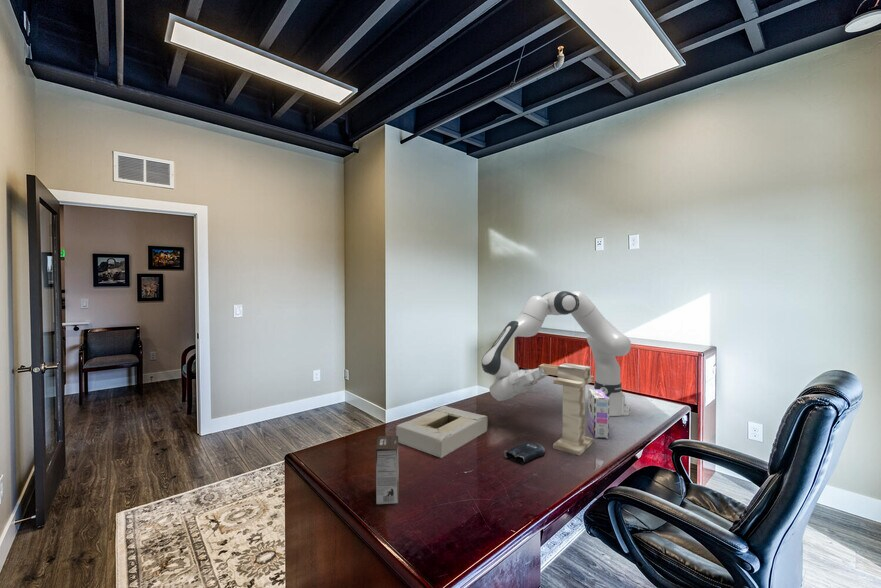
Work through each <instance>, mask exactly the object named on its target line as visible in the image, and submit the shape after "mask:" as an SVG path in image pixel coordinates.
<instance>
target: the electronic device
mask: <svg viewBox="0 0 881 588" xmlns="http://www.w3.org/2000/svg"><path fill="white" fill-rule="evenodd" d="M545 452H546V450H545V447H544V446H543V445H542V444H540V443H537V442H530V441H529V442H524V443H521V444H518V445H516V446H515V447H511V449H509V450H504V451H503V455H504V458H506V459H507V458H508V459H509V460H512V461H514V462H517V463H520V464H522V465H524V464H525V463H527V462H530V461H532V460H533V459H535V458H539V457H542V456H544V454H546V453H545ZM521 458H522V459H523V460H522V459H521Z"/></svg>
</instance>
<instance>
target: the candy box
mask: <svg viewBox="0 0 881 588" xmlns="http://www.w3.org/2000/svg"><path fill="white" fill-rule="evenodd" d="M587 392H588V393H587V394H588V397H587V399H588V404H587V409H588V417H587V419H588V420H587V421H588V428H589V430H590V432H591V434H592V436H593V438H595V439H605V440H609V439H610V436H609V435H610V432H609V431H610V416H609V398H608V397H607V395H606V394H605V393H604V392H603V391H602V390H600V389H595V388H588V391H587Z"/></svg>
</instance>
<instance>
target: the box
mask: <svg viewBox="0 0 881 588" xmlns="http://www.w3.org/2000/svg"><path fill="white" fill-rule="evenodd" d="M488 422H489V421H488V416H487V415H483V414H479V413H474V412H470V411H466V410H461V409H459V408H454V407H450V406H447V405H442V406H440V407H438V408H435V409H433V410H432V411H430V412H428V413H425V414H422V415H420V416H417V417H415V418H413V419H410V420H408V421H404V422H402V423H401V422H400V423H399V424H397V425H396V426H395V427H396V428H395V429H396V430H395V436H398V444H401V445H404V446H406V447H409V448H413V449H415V450H418V451H420V452H424V453H426V454H429V455H433V456H435V457H438V458H439V459H443V458H444V457H446V456H447V455H449V454H451V453H452V452H454V451H456V450H457V449H459V448H461V447H463V446H464V445H466V444H467V443H469V442H471V441H473V440H474V439H476V438H477V437H479V436H481V435H483V434H484V433H486V432H488Z"/></svg>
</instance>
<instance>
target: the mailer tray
mask: <svg viewBox="0 0 881 588" xmlns="http://www.w3.org/2000/svg"><path fill="white" fill-rule="evenodd" d="M558 366H559V365H555V364H549V363H548V364H547V363H542V364H540V365H539V364H538V368H539V370H541V369H544V370H545V373H544V374H549V375H551V376H557V377H558ZM549 375H548V376H549ZM587 378H588V370H587V371H585V379H587Z"/></svg>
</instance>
